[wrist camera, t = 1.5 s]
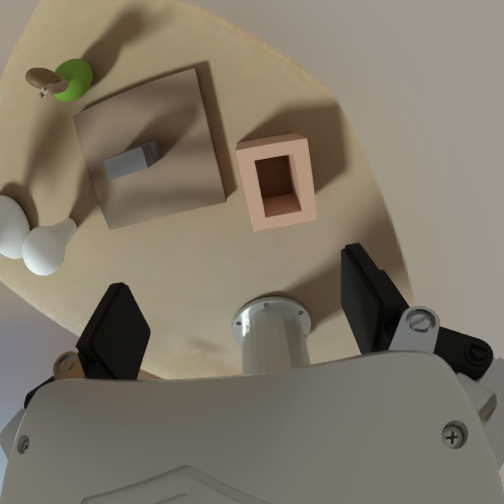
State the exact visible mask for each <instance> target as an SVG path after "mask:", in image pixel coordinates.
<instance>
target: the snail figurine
mask: <svg viewBox="0 0 504 504" xmlns="http://www.w3.org/2000/svg"><path fill="white" fill-rule="evenodd" d="M92 79H93V72H92V69H91V67H90V65H89V64H88V63H87V62H86V61H84V60H81V59H71V60H68V61H66V62H64V63H62V64H61V65H60V66H59V67H58V68H57V69H56V70H55V72H53V71H51V70H48V69H45V68H32V69H30V70H29V71H28V72H27V73H26V80H27V82H28V83H29V84H31V85H32V86H34V87H36V88H39V89H41V90H42V91H43V93H44V94H43V93H42V92H41V93H39V95H38V97H39V98H42V97H43V96H44V95H46V96H52V95H54V96H55V97H56V98H57V99H59V100H61V101H73V100H76V99H78V98H80V97H81V96H83V95H84V94H85V93H86V92H87V90H88V89H89V87H90V85H91V83H92Z"/></svg>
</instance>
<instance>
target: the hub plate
mask: <svg viewBox="0 0 504 504" xmlns="http://www.w3.org/2000/svg"><path fill="white" fill-rule="evenodd" d="M73 119H74V123H75V127H76V131H77V134H78V138H79V142H80V145H81V149H82V152H83V156H84V159H85V162H86V166H87V169H88V172H89V175H90V178H91V181H92V184H93V187H94V190H95V193H96V196H97V198H98V201H99V204H100V207H101V209H102V212H103V214H104V217H105V220H106V222H107V225H108V227H109V230H111V229H115V228H119V227H122V226H126V225H130V224H134V223H138V222H142V221H145V220H149V219H153V218H157V217H161V216H166V215H170V214H174V213H178V212H182V211H187V210H191V209H196V208H200V207H205V206H209V205H214V204H218V203H223V202H226V200H227V196H226V192H225V188H224V184H223V180H222V176H221V171H220V167H219V163H218V159H217V155H216V150H215V146H214V142H213V138H212V134H211V129H210V125H209V121H208V116H207V112H206V108H205V103H204V99H203V95H202V90H201V86H200V82H199V77H198V73H197V70H196V69H195V68H194V69H190V70H186V71H183V72H180V73H176V74H173V75H170V76H167V77H164V78H161V79H158V80H155V81H152V82H149V83H146V84H143V85H141V86H138V87H136V88H133V89H130V90H128V91H125V92H123V93H121V94H118V95H116V96H114V97H111V98H109V99H107V100H105V101H102V102H100V103H98V104H96V105H94V106H92V107H90V108H88V109H86V110H84V111H82V112H80V113H78V114H76V115H74V116H73Z"/></svg>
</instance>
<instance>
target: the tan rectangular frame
mask: <svg viewBox="0 0 504 504" xmlns="http://www.w3.org/2000/svg"><path fill="white" fill-rule="evenodd" d="M236 154H237V159H238V163H239V168H240V172H241V177H242V182H243V186H244V191H245V195H246V200H247V205H248V209H249V214H250V218H251V223H252V228H253V232H255V231H260V230H265V229H271V228H276V227H282V226H287V225H293V224H298V223H304V222H309V221H315V220H317V211H316V202H315V193H314V185H313V177H312V170H311V162H310V155H309V148H308V142H307V138H305V137H303V136H301V135H299V134H297V133H291V134H284V135H278V136H272V137H266V138H261V139H255V140H250V141H245V142H240V143H237V147H236ZM283 155H286V156H287V162H288V168H289V174H290V180H291V187H292V193H291V194H286V195H280V196H274V197H269V198H264V199H262V197H261V192H260V187H259V182H258V177H257V172H256V167H255V162H254V161H255V160H260V159H266V158H271V157H277V156H283Z"/></svg>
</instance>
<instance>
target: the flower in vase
mask: <svg viewBox="0 0 504 504" xmlns="http://www.w3.org/2000/svg"><path fill="white" fill-rule="evenodd" d="M29 232H30V228H29V224H28V221H27V218H26V216H25V214H24V212H23V210H22V209H21V207H20V206H19V205H18V203H17V202H15V201H14V200H13V199H12V198H10V197H7V196H0V253H1V254H3V255H5V256H7V257H9V258H13V259H17V258H21V257H23V254H22V248H23V243H24V240H25V238H26V236H27V235H28V233H29Z"/></svg>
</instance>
